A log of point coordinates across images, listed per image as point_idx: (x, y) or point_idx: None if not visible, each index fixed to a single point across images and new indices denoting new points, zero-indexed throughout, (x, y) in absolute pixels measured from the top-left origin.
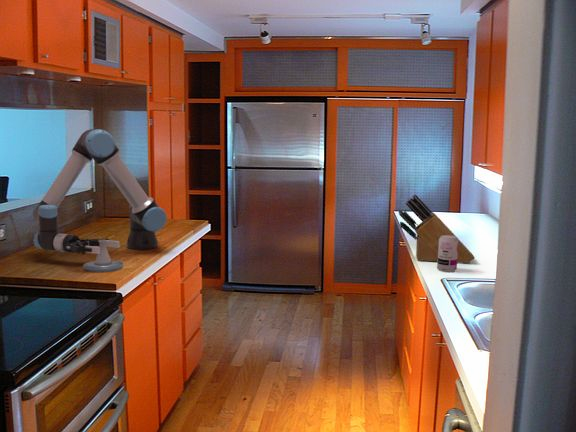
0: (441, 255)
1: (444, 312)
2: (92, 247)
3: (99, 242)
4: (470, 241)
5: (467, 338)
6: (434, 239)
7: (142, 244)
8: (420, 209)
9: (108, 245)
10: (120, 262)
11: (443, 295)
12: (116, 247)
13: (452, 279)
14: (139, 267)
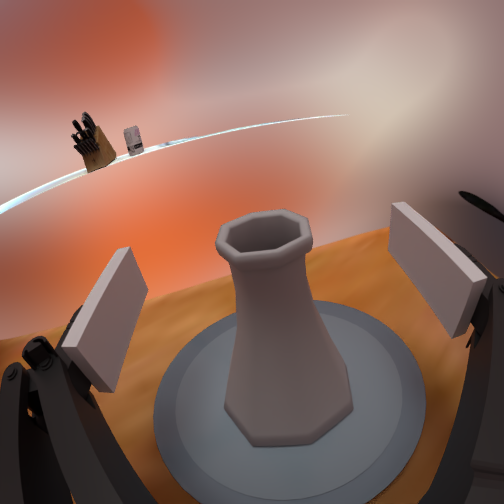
0: (137, 140)
1: (255, 126)
2: (436, 234)
3: (306, 249)
4: (43, 186)
5: (296, 119)
6: (104, 145)
7: None
8: (91, 122)
9: (116, 356)
10: (196, 344)
11: (213, 134)
12: (143, 302)
13: (165, 145)
14: (199, 288)
